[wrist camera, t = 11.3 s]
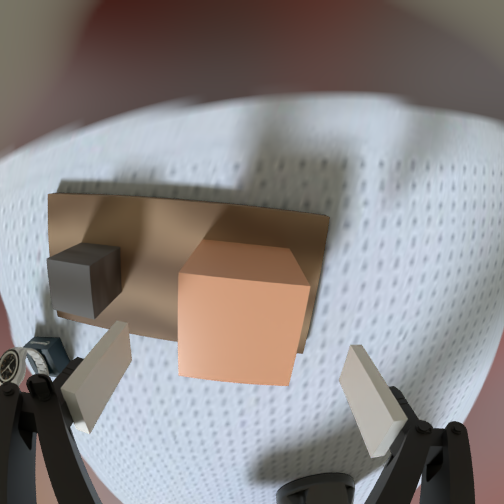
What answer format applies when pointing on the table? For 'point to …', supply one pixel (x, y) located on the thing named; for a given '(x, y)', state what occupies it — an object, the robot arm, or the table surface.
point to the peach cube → (240, 313)
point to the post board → (157, 254)
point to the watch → (33, 359)
